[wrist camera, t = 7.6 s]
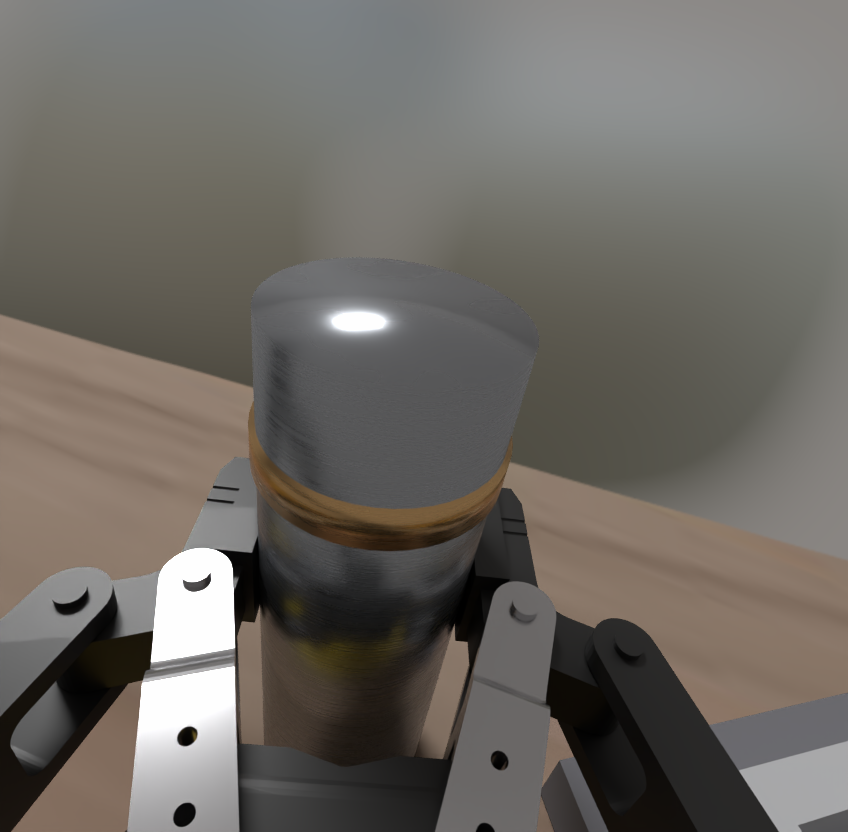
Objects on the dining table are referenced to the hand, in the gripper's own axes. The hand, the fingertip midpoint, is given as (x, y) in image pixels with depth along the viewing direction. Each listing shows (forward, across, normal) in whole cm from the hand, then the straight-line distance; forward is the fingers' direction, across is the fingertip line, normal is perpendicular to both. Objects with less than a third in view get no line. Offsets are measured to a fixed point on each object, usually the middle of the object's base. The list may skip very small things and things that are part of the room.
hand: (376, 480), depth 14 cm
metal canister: (-3, 0, -8) cm, 8 cm away
